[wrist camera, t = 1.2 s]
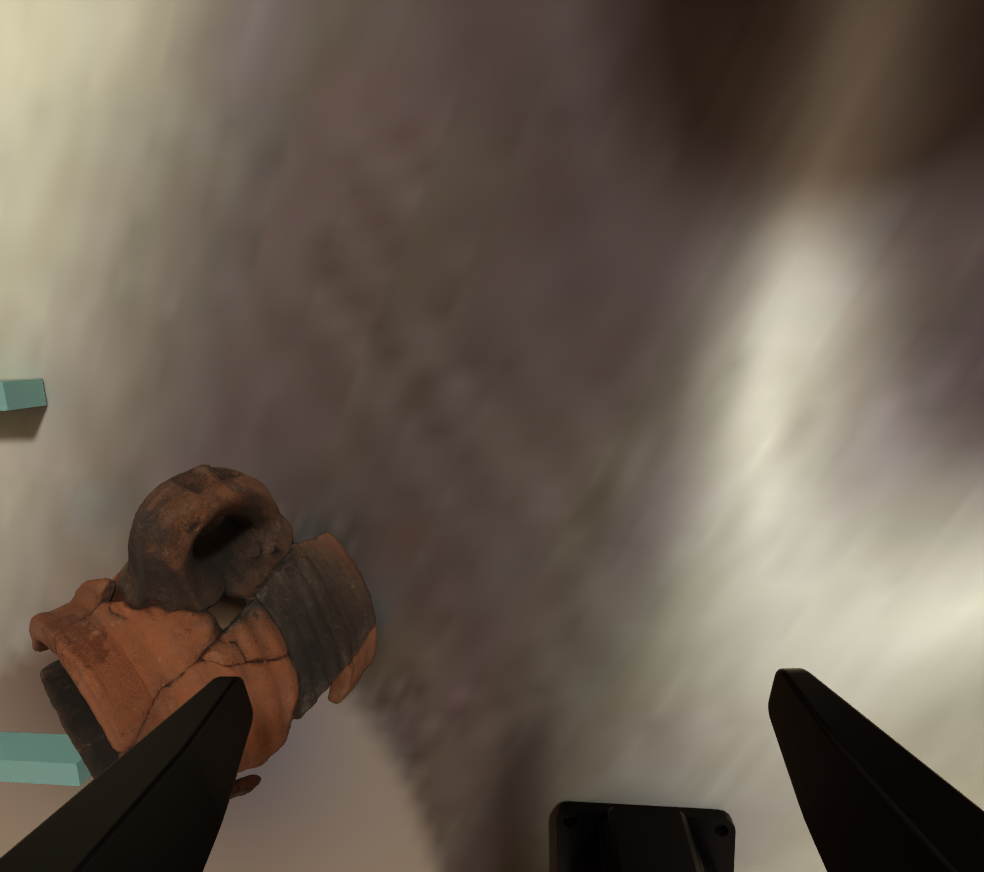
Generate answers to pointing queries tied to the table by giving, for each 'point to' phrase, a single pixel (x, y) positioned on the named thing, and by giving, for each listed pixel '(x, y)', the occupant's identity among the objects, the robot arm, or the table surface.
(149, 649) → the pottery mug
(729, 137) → the table surface
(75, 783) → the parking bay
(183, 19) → the table surface
